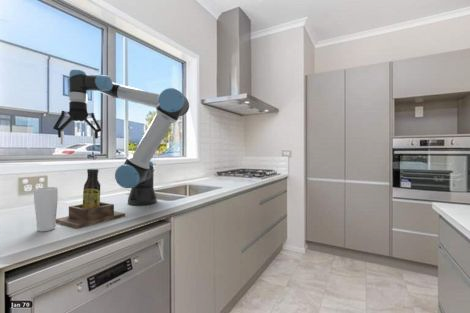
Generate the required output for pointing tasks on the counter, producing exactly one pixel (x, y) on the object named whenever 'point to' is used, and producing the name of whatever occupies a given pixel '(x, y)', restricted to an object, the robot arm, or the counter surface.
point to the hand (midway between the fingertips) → (78, 144)
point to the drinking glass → (46, 208)
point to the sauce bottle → (91, 190)
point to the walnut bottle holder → (89, 215)
